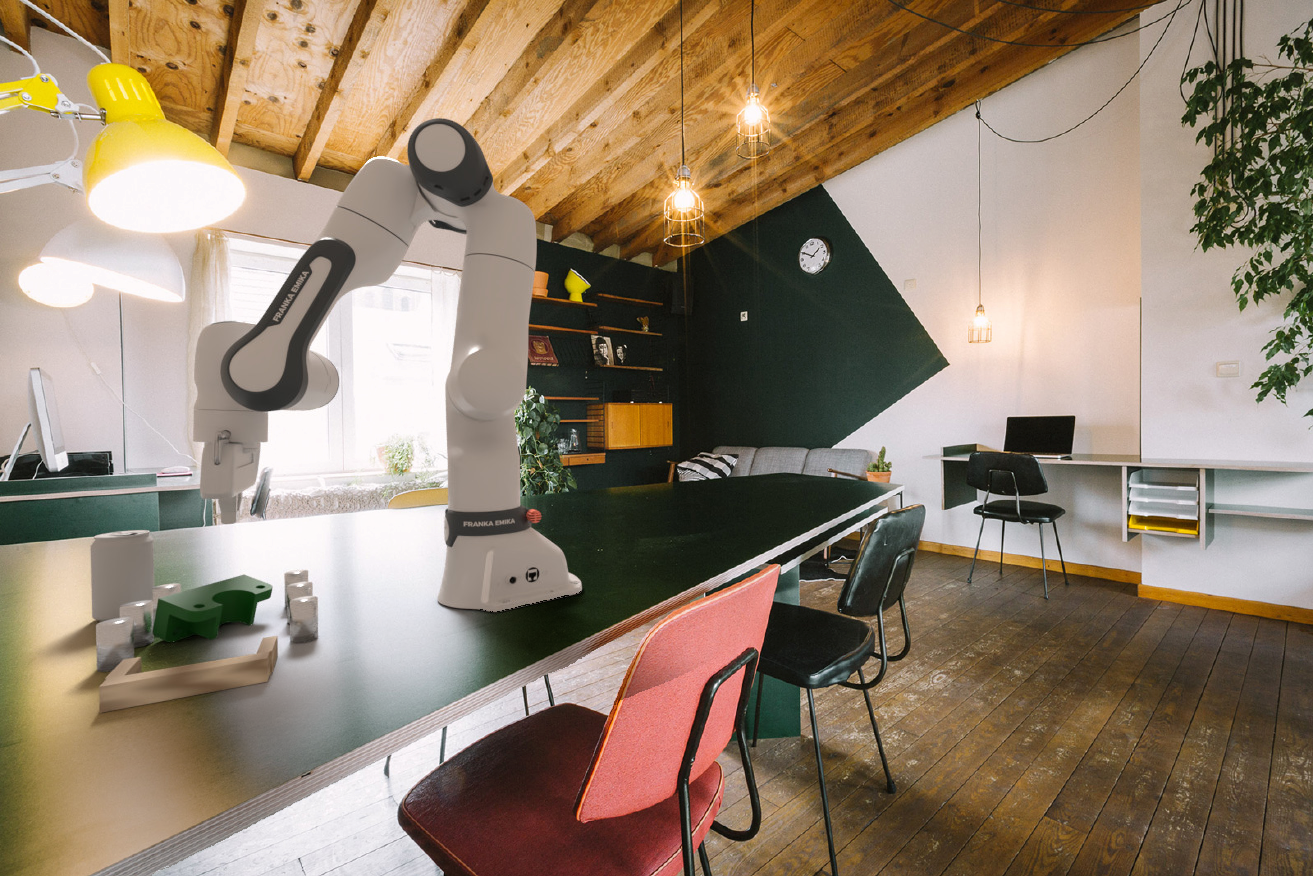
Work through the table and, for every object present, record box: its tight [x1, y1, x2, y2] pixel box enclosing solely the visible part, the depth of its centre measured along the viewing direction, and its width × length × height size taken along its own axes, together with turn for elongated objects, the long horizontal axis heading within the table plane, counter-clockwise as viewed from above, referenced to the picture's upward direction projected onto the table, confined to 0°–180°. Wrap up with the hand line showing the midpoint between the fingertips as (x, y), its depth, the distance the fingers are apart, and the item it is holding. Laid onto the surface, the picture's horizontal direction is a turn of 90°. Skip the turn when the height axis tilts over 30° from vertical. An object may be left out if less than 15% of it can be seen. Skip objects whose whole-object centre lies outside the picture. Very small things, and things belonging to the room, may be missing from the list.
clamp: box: [152, 574, 273, 643], centre depth 72 cm, size 12×6×9 cm, turn 162°
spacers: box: [95, 569, 319, 673], centre depth 72 cm, size 21×19×5 cm
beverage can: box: [90, 529, 155, 623], centre depth 77 cm, size 6×6×12 cm
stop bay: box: [98, 635, 279, 714], centre depth 58 cm, size 13×7×2 cm, turn 119°
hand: (230, 522), depth 82 cm, fingers closed
